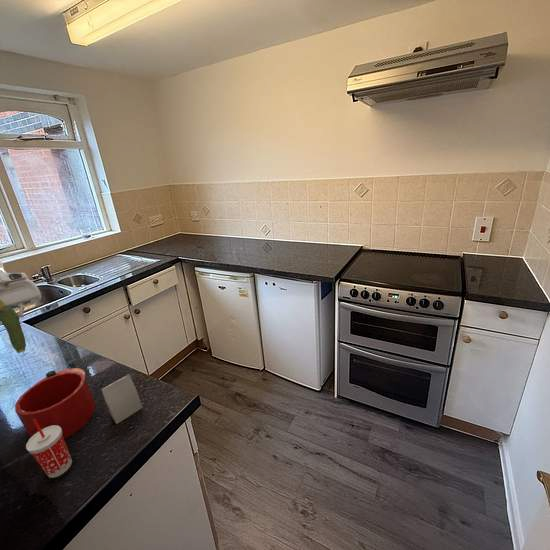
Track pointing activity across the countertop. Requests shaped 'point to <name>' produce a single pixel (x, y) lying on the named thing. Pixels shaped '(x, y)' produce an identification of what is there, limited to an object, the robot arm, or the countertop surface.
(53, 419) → the pot
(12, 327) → the vegetable
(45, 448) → the beverage cup
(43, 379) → the lid
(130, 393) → the grey rectangular block
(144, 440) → the countertop surface
